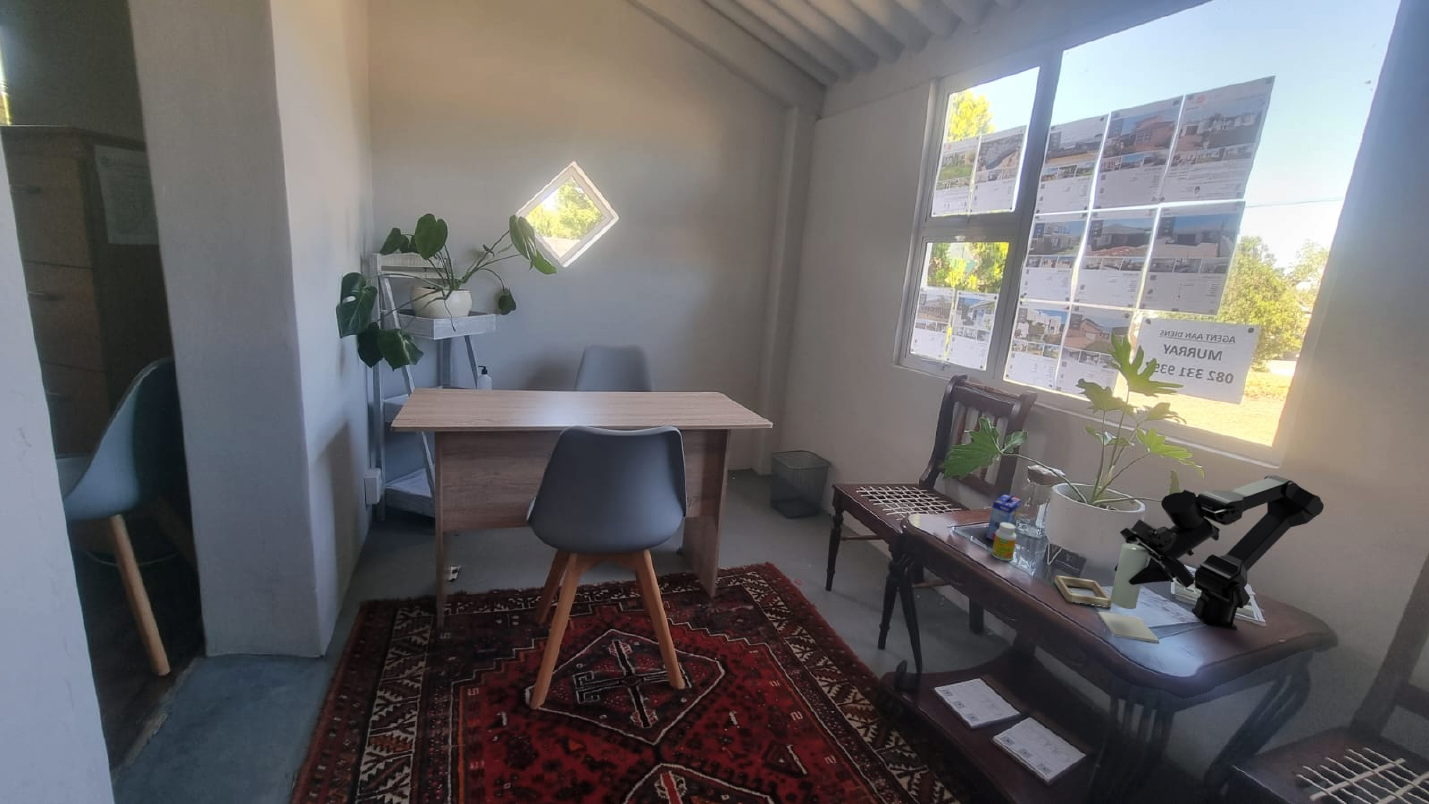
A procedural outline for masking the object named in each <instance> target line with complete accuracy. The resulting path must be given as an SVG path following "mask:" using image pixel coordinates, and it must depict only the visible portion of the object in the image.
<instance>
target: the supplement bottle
mask: <svg viewBox="0 0 1429 804" xmlns="http://www.w3.org/2000/svg"><path fill="white" fill-rule="evenodd" d="M1015 531H1016V526H1014V525H1013V524H1010V523H1005V522H1002V523H1000V526H999V530H997V531H996V533H995V539H994V540H993V544H992V545H993V546H992V551H991V554H992V556H993V557H994V558H996V559H998V560H1000V561H1006V562H1007V561H1008V562H1009V561H1012V560H1013V558H1014V552H1015V547H1016V542H1017V534H1016V533H1015Z"/></svg>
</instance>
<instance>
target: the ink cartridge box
mask: <svg viewBox="0 0 1429 804" xmlns="http://www.w3.org/2000/svg"><path fill="white" fill-rule="evenodd" d="M1016 493H1017V492H1015V493H1014V494H1012V495H1008V494H1002V495H1001V496H1000V497H998V498H997V499H995V500H994V501H993V503H992V508H991V513H990V517H989V518H990V519H989V522H988V527H987V532H986V535H985V536H986V538H987V539H990V540H992V541H994V539H995V533H996V531H997V530H999V526H1000V523H1002V522H1005V523H1010V524H1013V525H1014V526H1015V527H1016V525H1017V521H1018V515H1019V512H1020V507H1021V502H1022V499H1020V498H1017V497H1015V495H1016Z"/></svg>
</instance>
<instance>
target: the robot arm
mask: <svg viewBox="0 0 1429 804" xmlns="http://www.w3.org/2000/svg"><path fill="white" fill-rule="evenodd" d="M1160 503H1161V507H1162V509H1163V510H1164V512H1165V514H1166V515H1167V516H1168V518H1169V519H1170V521H1171V523H1173V525H1172V526H1171V527H1170V528H1168V526H1167V527H1166V526H1161V527H1158V528H1157V527H1155V526H1153V525H1152V524H1150V523H1148V522H1146V521H1144V520H1143V519H1140V518H1138V520H1137V521H1136V522H1135V524H1134V525H1133V526H1132V527H1125V528H1124V529H1122V530H1121V531H1119V534H1120V535H1121V536H1122V537H1123V539H1124V540H1125V544H1127V543H1128V544H1135V545H1138V546H1141V547H1144V548H1145V549H1147V550H1148V551H1149V554H1148V557H1150V558H1149V562H1148V565H1146V567H1145V568H1144V569H1143V570H1142V571H1140V572H1139V573H1137V574H1136V575H1135V576H1133V577H1132V578H1131V579H1130V580H1129V583H1130V584H1131V585H1137V584H1141V585H1143V584H1151V583H1161V582H1162V583H1163V582H1170V583H1174V582H1175V581H1176V582H1177V583H1178V584H1179V585H1180V586H1182V587H1184V588H1185V589H1188V588H1189V587H1190V586H1192V585H1194V588H1195V589H1196V590H1199V591H1201V592H1200V595H1199V596H1198V597H1197V600H1196V602H1195V607H1193V608H1191V611H1192V612H1193V613H1194V614H1195V615H1196V616H1197V617H1198V618H1199V620H1201V621H1202V623H1204V624H1205V625H1207V626H1215V627H1220V628H1227V629H1232V630H1233V629H1234V630H1238V626H1237V625H1236V624H1235V623H1234V622H1235V618H1236V614H1237V611H1238V608H1239V609H1244V607H1245V606H1247V605H1248V603H1249V601H1250V599H1251V597H1250V595H1249V593H1248V591H1247V589H1246V588H1245V587H1246V586H1247V585H1248V572H1249V570H1250V569H1251V568H1252V567H1253V566H1254V565H1255V564H1257V562H1258V561H1259V560H1260V559H1261V558H1262V557H1263V556H1264V555H1265V554H1266V553H1267V552H1268V551H1269V550H1270V549H1271V547H1273V546H1274V545H1275V544H1276V543H1277V541H1279V540H1280V539H1281V538H1282V537H1283V536H1284V534H1286V533H1287V532H1288V531H1289V529H1291V528H1294V527H1298V526H1302V525H1305V524H1308V523H1309V522H1311V521H1312V520H1314V519H1315V518H1316V517H1317V516H1320V514H1321V513H1322V512H1323V510H1324V506H1325V505H1324V503H1323V501H1322V499H1321V497H1320V495H1316V494H1313V493H1311V492H1309V491H1308V490H1306V489H1304V488H1302V487H1301V486H1299V484H1298V483H1296V482H1294V480H1291V479H1289V478H1288V479H1287V478H1284V477H1281V476H1278V475H1274V474H1273V475H1271V474H1268V475H1265V477H1264V478H1262V479H1260V480H1257V481H1255V482H1251V483H1248V484H1245V485H1243V486H1240V487H1237V488H1234V489H1230V490H1220V489H1219V490H1216V489H1215V490H1214V489H1213V490H1207V491H1202V492H1201V493H1199V494H1197V495H1196V493H1195V492H1193V491H1192V490H1188V489H1184V490H1183V491H1181V492H1173V493H1170V494H1168V495H1165V496H1164V497H1163V498H1162V500H1161V502H1160ZM1265 504H1267V505H1266V510H1267V511H1266V513H1265V514H1264V515H1263V516H1262V517H1261V518H1260V519H1259V520H1258V521H1257V522H1256V523H1255V525H1253V526H1252V527H1251V528H1250V529H1249V530H1248V531H1247V532H1246V533H1245V535H1243V536H1242V537H1241V539H1239V540H1238V541H1237V543H1236V544H1235V545H1234V546H1232V547H1231V548H1230V550H1229V551H1228V552H1226V554H1224V555H1220V556H1218V555H1215V554H1211V555H1208V557H1207V558H1206V559H1205V560H1204V561H1203V562H1202V563H1200V564H1199V566H1198V567H1197V568H1196V569H1195V570H1194V571H1195V572H1194V575H1193V574H1192V572H1191V571H1190V570H1189V568H1188V567H1186V565H1185V564H1184V563H1183V562H1181V561H1180V560H1178V559H1179V558H1181V557H1182V556H1184V555H1185V554H1186V555H1187V556H1189V557H1191V556H1192V555H1194V554H1195V553H1194V551H1193V549H1195V548H1196V547H1198V546H1200V545H1201V544H1202V543H1204V542H1206V541H1207V540H1208V539H1210V538H1211V539H1213V540H1214V541H1216V542H1217V541H1219V539H1220V531H1221V529H1220V528H1219V527H1217V526H1216V525H1214V524H1212V523H1211V521H1213V522H1215V523H1217V524H1220V525H1222V526H1230V525H1232V524H1233V523H1235V522H1237V521H1239V520H1241V519H1242V517H1243V513H1244V512H1245V511H1247V510H1250V509H1253V508H1257V507H1259V506H1262V505H1265ZM1117 567H1118V563H1117V564H1116V566H1115V568H1114V571H1115V572H1116V571H1117ZM1175 578H1176V579H1175ZM1174 579H1175V581H1174Z"/></svg>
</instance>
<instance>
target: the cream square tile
mask: <svg viewBox="0 0 1429 804" xmlns="http://www.w3.org/2000/svg"><path fill="white" fill-rule="evenodd" d="M1097 613H1098V614H1097V615H1098V616H1099V618H1100V619H1101V620H1102V622H1103V621H1104V622H1103V623H1104V625H1106V627H1107V629H1108V630H1109V629H1110V630H1109V632H1110V633H1111V634H1112V635H1113V637H1118V636H1120V637H1119V638H1125V639H1132V640H1136V641H1137V640H1139V641H1143V642H1150V643H1151V642H1152V643H1156V644H1157V643H1158V644H1159V642H1160V639H1159V638H1158V637H1157V636H1156V635H1155V634H1154V632H1152V630H1151V629H1150V627H1148V625H1146V623H1145V622H1144V621H1143V620H1142V619H1141V618H1140V617H1138V616H1130V615H1124V614H1117V613H1112V612H1103V611H1097Z"/></svg>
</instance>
